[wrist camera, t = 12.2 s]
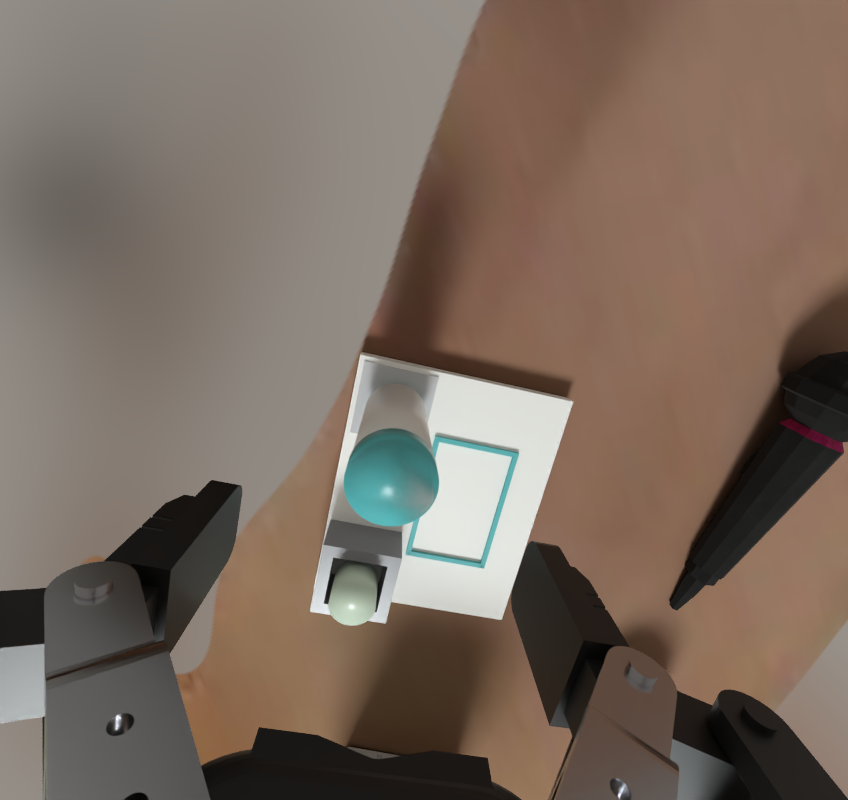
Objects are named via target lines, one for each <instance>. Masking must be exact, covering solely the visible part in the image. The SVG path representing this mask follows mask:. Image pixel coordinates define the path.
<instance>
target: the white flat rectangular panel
mask: <svg viewBox="0 0 848 800" xmlns="http://www.w3.org/2000/svg"><path fill="white" fill-rule="evenodd" d="M391 383H399V384H404V385H407V386H409V387H411V388H413V389H414V390H415V391H416V392H417V393H418V394H419V395H420V396H421V398H422V400H423V402H424V405H425V410H426V416H427V422H428V427H429V433H430V438H431V444H432V450H433V454H434V457H435V460H436V465H437V470H438V476H439V489H438V494H437V497H436V499H435V501H434V503H433V505H432V506H431V508H430V509H429V510H428V511H427V512H426V513H425V514H424V515H423V516H421V517H420V518H418V519H417V520H415V521H413V522H411V523H408V524H405V525H401V526H382V525H377V524H374V523H372V522H369V521H367V520H365V519H364V518H362V517H361V516H360V515H359V514H357V513H356V512H355V511H354V509H353V508H352V507H351V505H350V504H349V502H348V500H347V498H346V495H345V492H344V474H345V471H346V467H347V464H348V460H349V457H350V455H351V452H352V450H353V448H354V444H355V441H356V438H357V434H358V431H359V427H360V424H361V420H362V417H363V413H364V410H365V406H366V403H367V401H368V398H369V397H370V395H371V394H372V393H373V392H374V391H375V390H376V389H378V388H379V387H381V386H383V385H386V384H391ZM572 404H573V401H571V400H570V399H569V398H567V397H562V396H558V395H553V394H549V393H544V392H540V391H535V390H531V389H526V388H522V387H517V386H513V385H508V384H504V383H499V382H495V381H490V380H486V379H481V378H477V377H472V376H468V375H464V374H459V373H455V372H450V371H446V370H441V369H437V368H432V367H428V366H423V365H419V364H414V363H410V362H405V361H401V360H396V359H392V358H387V357H383V356H378V355H374V354H369V353H365V352H362V353H361V354H360V359H359V364H358V369H357V374H356V379H355V384H354V389H353V394H352V399H351V404H350V409H349V414H348V420H347V425H346V430H345V435H344V440H343V445H342V450H341V455H340V460H339V465H338V470H337V475H336V480H335V485H334V490H333V495H332V500H331V505H330V510H329V515H328V520H327V525H326V530H325V535H324V540H325V537H326V534H327V530H328V527H329V524H330V521H331V519H332V520H338V521H343V522H349V523H354V524H360V525H365V526H371V527H376V528H382V529H387V530H393V531H398V532H402V561H401V565H400V569H399V573H398V577H397V581H396V584H395V588H394V592H393V596H392V600H391V602H395V603H401V604H407V605H413V606H419V607H425V608H431V609H437V610H443V611H449V612H455V613H461V614H468V615H474V616H480V617H486V618H492V619H498V620H502V617H503V614H504V611H505V608H506V605H507V602H508V599H509V596H510V593H511V590H512V587H513V584H514V581H515V578H516V575H517V572H518V569H519V566H520V563H521V560H522V556H523V553H524V550H525V547H526V544H527V541H528V538H529V535H530V532H531V529H532V526H533V523H534V520H535V517H536V514H537V511H538V508H539V505H540V502H541V499H542V495H543V492H544V489H545V486H546V483H547V480H548V477H549V474H550V471H551V468H552V465H553V462H554V459H555V456H556V453H557V450H558V447H559V444H560V441H561V438H562V435H563V431H564V428H565V425H566V422H567V419H568V416H569V413H570V410H571V407H572ZM324 540H323V544H324ZM322 548H323V545H322ZM321 553H322V550H321ZM320 558H321V555H320ZM345 561H348V560H346V559H340V558H334V562H333V566H332V571H331V574H335V573H336V570H337V569H338V567H339V566H340V565H341V564H342V563H344V562H345ZM319 563H320V560H319ZM372 565H373V566H374V567H375V569H376V570H377V573H378V582H379V580H380V576H381V571H382V567H383V566H380V565H374V564H372ZM318 568H319V565H318ZM317 573H318V570H317ZM316 578H317V575H316ZM315 583H316V580H315ZM314 588H315V585H314Z"/></svg>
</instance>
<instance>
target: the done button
mask: <svg viewBox="0 0 848 800" xmlns="http://www.w3.org/2000/svg"><path fill="white" fill-rule="evenodd" d="M377 587H378V573H377V570H376V569H375V567H374V566H373V565H372V564H369V563H363V562H357V561H351V560H348V561H345V562H344V563H342V564H341V565H340V566H339V567H338V569H337V570H336V573H335V577H334V581H333V586H332V590H331V594H330V599H329V603H328V608H329V612H330V614H331V615H332V617H333V618H334V619H335V620H336V621H338V622H340V623H342V624H345V625H351V626H354V625H360V624H363V623H365V622H366V621H368V620H369V619H370V618H371V617H372V616H373V614H374V612H375V609H376V599H377Z"/></svg>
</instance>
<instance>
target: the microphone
mask: <svg viewBox="0 0 848 800" xmlns="http://www.w3.org/2000/svg"><path fill="white" fill-rule="evenodd" d="M781 386H782V387H783V388H784V389H785V396H784V404H785V407H786V409H787V412H788V414H789V416H790V419H787V420H783V421H780V422H778V423H777V425H776V426H775V428H774V429H773V431H772V432H771V434H770V435H769V437H768V438H767V440H766V441H765V443H764V444H763V446H762V447H761V449H760V450H759V452H755V453H754V454H753V455H752V456H751V458H750V459H749V461H748V462H747V464H746V465H745V467H744V468H743V470H742V474H743V476H742V477H741V479H740V480H739V482H738V483H737V485H736V486H735V488H734V489H733V491H732V492H731V494H730V495H729V497H728V498H727V500H726V501H725V503H724V504H723V506H722V507H721V509H720V510H719V512H718V513H717V515H716V516H715V518H714V519H713V521H712V522H711V524H710V525H709V527H708V528H707V530H706V531H705V533H704V534H703V536H702V537H701V539H700V540H699V542H698V543H697V545H696V546H695V548H694V549H693V551H692V552H691V554H690V559H689V560H688V562H687V563H686V564H685V567H686V569H687V570H688V573H687V574H686V576H685V577H684V579H683V580H682V582H681V584H680V586H679V588H678V590H677V591H676V593H675V595H674V597H673V599H672V601H671V603H670V606H671V607H672V608H673V609H675V610H678V609H679V608H681V607H682V606H683V605H684V604H685V603H687V602H688V601H689V600H690V599H691V598H693V597H694V596H695V595H696V594H697V593H698V592H699V591H700V590H701V589H702V588H703V587H704V586H705V585H712V586H714V585H715V584H716V582H717V581H718V580H719V579H722V578H723V577H725V575H726V574H727V573H728V572H729V571H730V570H731V569H732V568H733V567H734V566H735V565H736V564H737V563H738V562H739V561H740V560H741V559H742V558H743V557H744V556H745V555H746V554H747V553H748V552H749V551H750V550H751V549H752V547H753V546H754V545H755V544H756V543H757V542H758V541H759V540H760V539H761V538H762V537H763V536H764V535H765V534H766V533H767V532H768V531H769V530H770V529H771V528H772V527H773V526H774V525H775V524H776V523H777V522H778V521H779V519H780V518H781V517H782V516H783V515H784V514H785V513H786V512H787V511H788V510H789V509H790V508H791V507H792V506H793V505H794V504H795V503H796V502H797V501H798V500H799V499H800V498H801V497H802V496H803V495H804V494H805V493H806V492H807V490H808V489H809V488H810V487H811V486H812V485H813V484H814V483H815V482H816V481H817V480H818V479H819V478H820V477H821V476H822V475H823V474H824V473H825V472H826V471H827V470H828V469H829V468H830V467H831V466H832V465H833V464H834V462H835V461H836V460H837V459H838V458H839V457H840V456H841V455H842V454H843V453H844V450H843V443H842V442H848V352H839V353H832V354H826V355H820V356H818V357H817V358H815V359H813V360H812V361H810V362H809V363H807V364H806V365H805V366H803V367H802V368H801V369H800V370H799V371H798V372H797V373H788V374H787V375H786V377H785V378H784V380H783V382H782V383H781Z"/></svg>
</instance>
